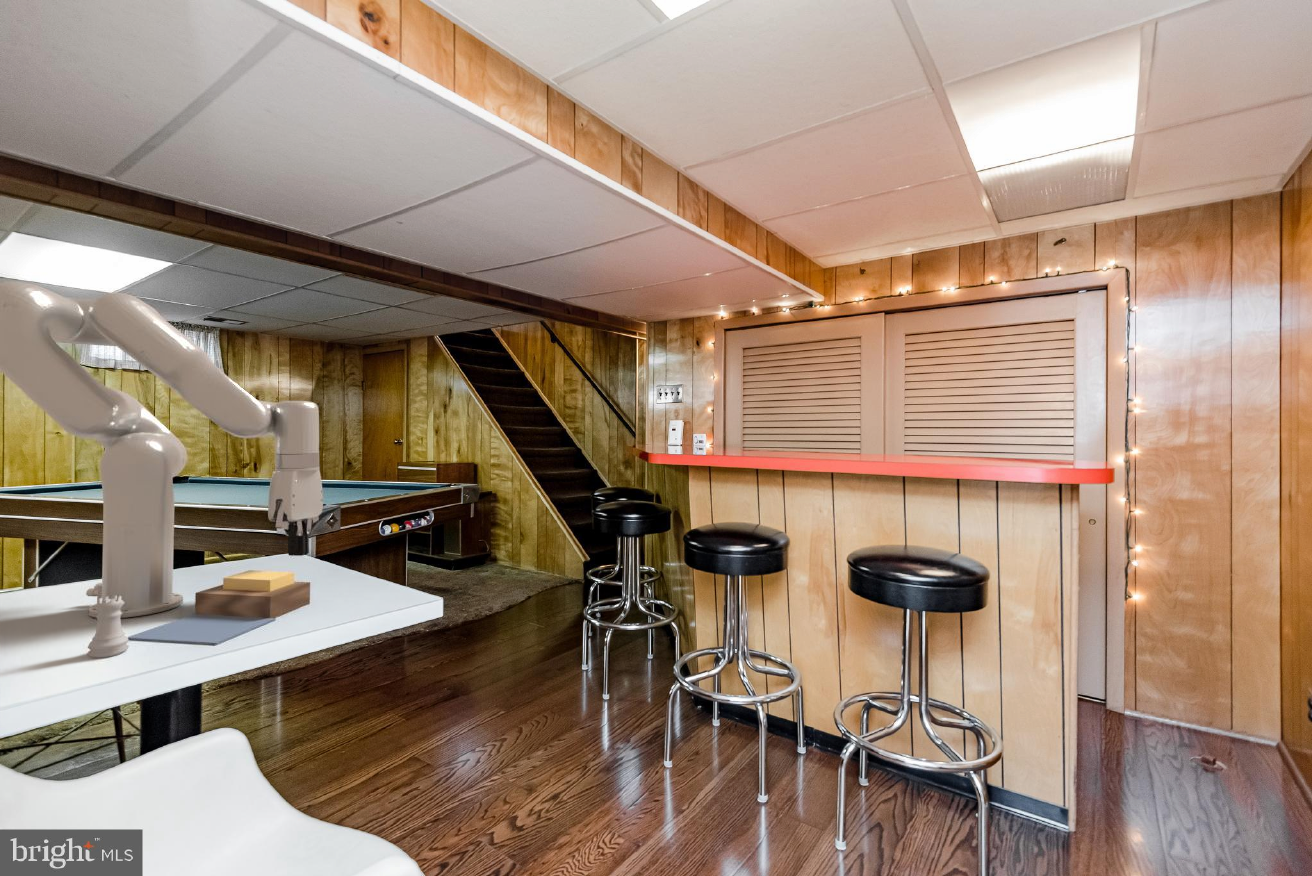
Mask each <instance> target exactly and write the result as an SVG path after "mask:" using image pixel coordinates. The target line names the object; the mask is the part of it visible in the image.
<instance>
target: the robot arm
mask: <svg viewBox="0 0 1312 876" xmlns="http://www.w3.org/2000/svg"><path fill="white" fill-rule="evenodd" d="M59 344H74V345H75V344H76V345H91V346H108V347H117V348H118V349H119V350H121V351H122V352H124V353H125V354H126V355H128V356H129V357H131V358H132V359H133V360H135V361H136V362H137V363H139V365H141V366H142V367H143V368H145V369H146V371H147V370H148V372H149V373H151V374H152V375H154V376H155V377H156V378H158V379H159V380H160V381H161V382H162V383H164V384H165V385H166V386H167V387H168V388H169V389H171V391H174V392H175V393H176V394H178V395H179V396H180V397H181V398H182V399H184V400H185V401H186V402H187V403H188V404H190V405H191V406H192V407H193V408H194V409H195V410H197V411H199V413H201V414H202V415H203V416H205V417H206V418H208V419H209V420H210V421H212V422H213V423H214V424H216V426H218V427H220V428H221V429H222V430H224V431H225V432H226V433H228V434H230V435H232V436H233V437H236V438H241V439H256V438H264V437H272V436H274V470H273V471H272V473H271V474H272V475H271V478H270V483H269V489H268V505H267V507H268V509H267V516H268V520H269V521H270V522H276V523H275V528H276V530H283V531H285V532H284V533H285V536H287V548H288V549H287V554H288V556H292V557H293V556H297V557H301V556H304V555H309V552H310V549H309V548H310V546H309V545H310V541H309V540H310V539H309V537H310V535H309V534H311V531H312V526H313V525H314V523H317V522H318V521H319V520H320V517H319V516H320V515H321V514H322V513H323V507H324V494H323V484H322V476H321V475H322V474H321V471H320V419H319V418H320V414H319V413H320V410H319V406H318V405H317V403H315V402H313V401H308V400H281V401H279V402H274V401H265V400H259V399H256V398H255V397H254V396H253V395H251V394H250V393H249V392H248V391H247V390H246V389H244V388H242V387H241V386H240V385H239V384H237V383H236V382H235V381H234V380H233V379H231V377H229V376H228V375H226V374H225V373H224V371H222V370H221V369H219V367H218V366H216V364H215V363H214V362H213V361H212V359H211V358H210V356H209V354H208V353H206V351H205V350H204V349H202V348H201V347H200V346H199V345H198V344H196V343H195V342H193V340H191V339H190V338H188V337H187V336H186V335H185V334H183V332H181V331H180V330H178V329H177V328H176V327H175V326H174V325H172V324H171V323H169V321H167V320H166V318H164V317H162V316H161V315H160V313H159V312H158V311H157V310H156V309H155V308H154V307H153V306H151V305H149V304H148V303H146V302H145V301H143V300H142V299H139V297H135V296H134V295H130V294H128V293H124V292H111V293H105V294H103V295H100V296H98V297H96V298H95V299H88V298H87V299H86V298H78V297H68V296H63V295H61V294H58V293H56V292H54V291H52V290H49V289H47V288H45V287H43V286H40V285H38V284H34V283H31V282H30V283H29V282H24V281H3V282H0V372H1V373H2V374H3V375H5V377H6V378H8V379H9V380H10V381H11V382H12V383H13V384H14V385H16V386H17V387H18V389H20V390H21V391H22V392H23V393H24V395H26V396H27V397H28V398H29V399H30V400H31V401H32V402H33V403H35V404H36V406H38V407H39V408H40V409H41V410H42V411H44V413H46V415H48V416H49V417H50V418H51V419H52V421H54V422H55V423H56V424H57V425H58V426H59V427H61V429H63V430H64V431H65V432H66V433H68V434H69V435H72V436H74V437H75V438H81V439H85V440H86V439H88V440H89V439H90V440H95V441H96V442H97V443H99V445H101V446H102V447H103V448H104V450H103V453H102V454H101V457H100V464H99V473H100V480H101V481H100V482H101V487H102V500H103V506H102V507H103V509H102V510H103V511H102V513H103V514H102V517H103V518H102V519H103V520H102V525H103V527H102V529H103V530H102V531H103V532H102V538H103V539H102V570H101V571H102V572H101V573H102V576H101V582H98V583H96V584H95V585H94V586H93V588H89V589H86V591H85V592H86V593H85V594H86V596H88V597H96V601H97V600H98V599H99V598H102V600H104V597H107V596H108V597H109V599H112V596H117V598H118V596H121V600H123V601H124V602H125V603H124V604H123V606H122V607H121V608H120V611H121V612H122V615H121V616H120V619H122V618H131V617H132V618H133V617H134V618H135V617H141V616H146V615H147V616H148V615H151V614H156V613H161V612H165V611H168V610H172V609H175V608H177V607H179V606H181V605H182V604H183V603H184V596H183V595H182V594H180V593H175V592H174V593H173V586H174V585H173V584H174V583H173V582H174V581H173V579H174V577H173V576H174V545H175V544H174V543H175V542H174V541H175V540H174V537H175V494H174V483H173V481H174V480H173V478H174V477H177V475H179V474H180V473H181V472H182V471H183V470H184V468H185V467H186V465H187V462H188V453H187V449H186V447H185V446H184V444H183V443H182V441H181V440H180V439H179V438H178V437H177V436H176V435H175V434H174V433H172V432H171V430H170V429H168V427H166V425H164V424H163V423H162V422H161V421H160V420H159V419H158V418H157V417H156V416H154V414H153V413H152V412H150V411H149V410H148V409H147V408H146V407H145V405H143V404H142V403H141V402H140V401H139V400H137V399H136V398H135V397H133V396H132V395H130V394H129V393H127V392H125V391H123V390H119V389H117V388H111V387H108V386H105V385H104V384H103V383H101V382H100V381H99V380H98V379H97V378H96V377H94V376H93V375H92V374H91V373H90V372H88V371H87V369H86V368H85V367H83V366H82V365H81V364H80V362H78V360H76V359H75V358H74V357H73V356H72V355H71V354H69V353H68V352H67V351H66V350H64V349H63V348H62V347H61V346H60V345H59ZM96 604H97V603H95V604H93V605H91V606H89V608H88V614H89V616H90V617H91V618H92V617H93V618H96V616H97V615H98V611H97V610H96V609H95V608H94V606H95V605H96Z"/></svg>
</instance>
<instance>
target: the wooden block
mask: <svg viewBox="0 0 1312 876" xmlns="http://www.w3.org/2000/svg"><path fill="white" fill-rule="evenodd" d="M194 594H195V596H194V597H195V599H194V603H195V604H194V614H204V615H222V616H240V617H259V618H278V617H281V616H283V615H285V614H288V613H290V612H292V611H295V610H297V609H299V608H302V607H305V606H307V605H309V604H310V603H311V582H308V581H294V583H293V584H290V585H287V586H284V587H281V588H279V589H276V590H273V591H252V590H232V589H223V584H220V585H217V586H213V587H211V588H207V589H204V590H200V591H197V592H195V593H194Z"/></svg>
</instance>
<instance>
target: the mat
mask: <svg viewBox="0 0 1312 876" xmlns="http://www.w3.org/2000/svg"><path fill="white" fill-rule="evenodd" d="M276 618H277V617H276ZM276 618H259V617H240V616H222V615H204V614H195V613H194V614H191V615H188V616H185V617H183V618H180V619H177V620H173V621H171V622H168V623H167V622H166V623H165V624H162V625H161V624H160V625H159V626H156V627H153V628H151V629H146V630H144V631H142V632H139V633H138V632H137V633H136V634H133V635H130V636H127V637H128V640H129V641H130V640H131V641H146V642H161V643H175V644H176V643H178V644H193V645H197V644H198V645H210V646H211V645H213V646H218V645H221V644H222V643H224V642H228V641H229V640H233V639H234V638H237V637H239V636H242V635H243V634H245V633H249V632H250V631H253V630H256V629H257V628H261V627H263V626H265V625H267V624H270V623H272V622H274V621H275V622H276Z"/></svg>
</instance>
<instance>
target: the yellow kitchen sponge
mask: <svg viewBox="0 0 1312 876" xmlns="http://www.w3.org/2000/svg"><path fill="white" fill-rule="evenodd" d="M222 581H223V582H222V583H223V584H222V585H223V589H232V590H252V591H273V590H276V589H279V588H281V587H284V586H287V585H290V584H293V583H294V582H295V571H294V572H293V571H291V572H290V571H274V570H273V571H272V570H267V571H266V570H247V571H243V572H240V573H236V574H233V575H228V576H226V577H223V580H222Z"/></svg>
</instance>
